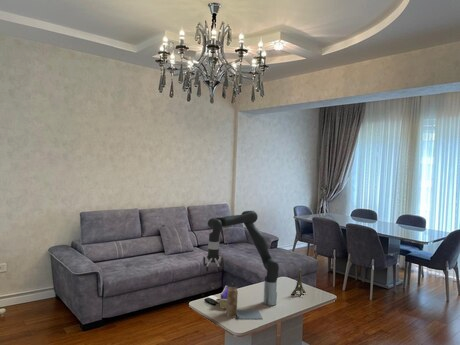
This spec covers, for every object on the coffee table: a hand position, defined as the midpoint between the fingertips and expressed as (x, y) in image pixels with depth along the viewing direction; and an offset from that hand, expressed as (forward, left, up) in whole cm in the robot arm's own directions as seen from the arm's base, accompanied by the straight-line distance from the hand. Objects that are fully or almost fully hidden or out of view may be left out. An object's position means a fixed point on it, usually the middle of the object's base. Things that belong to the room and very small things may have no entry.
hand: (212, 271), depth 237 cm
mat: (-26, 0, -30) cm, 40 cm away
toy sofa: (-14, -20, -30) cm, 39 cm away
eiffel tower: (-75, -39, -30) cm, 90 cm away
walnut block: (-15, 0, -30) cm, 33 cm away
